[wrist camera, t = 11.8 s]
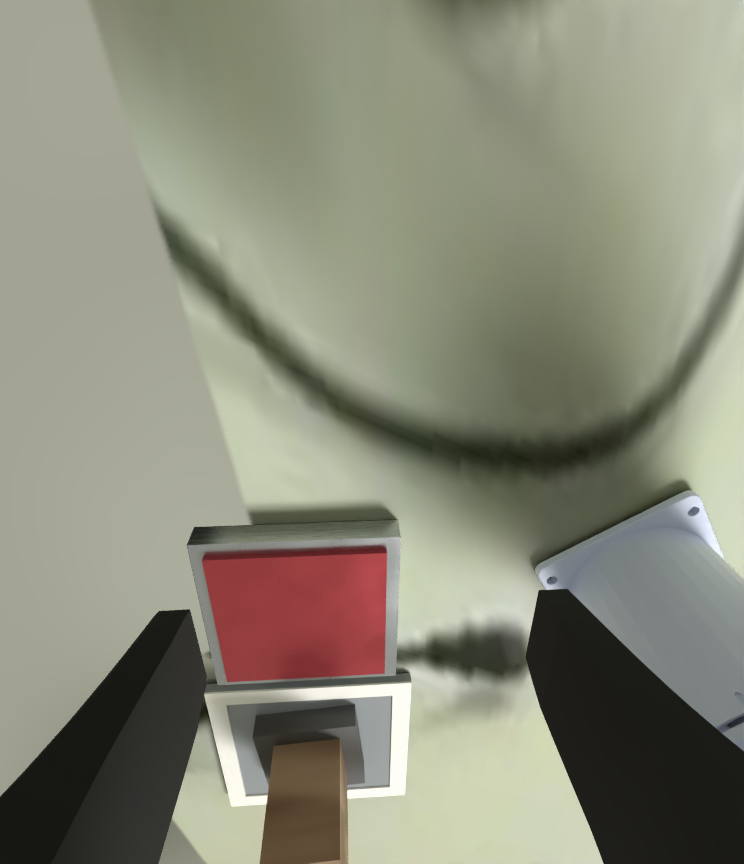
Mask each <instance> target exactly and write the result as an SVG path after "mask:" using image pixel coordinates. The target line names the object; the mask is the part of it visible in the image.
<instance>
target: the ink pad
mask: <svg viewBox="0 0 744 864" xmlns="http://www.w3.org/2000/svg"><path fill="white" fill-rule="evenodd" d="M400 541H401V536H400V530H399V525H398V520H376V521H349V522H322V523H295V524H268V525H242V526H217V527H216V526H214V527H194V529H193V532H192V534H191V536H190V539H189V541H188V544H187V549H188V553H189V558H190V562H191V566H192V571H193V575H194V580H195V585H196V589H197V594H198V598H199V603H200V607H201V612H202V616H203V621H204V625H205V630H206V634H207V639H208V643H209V648H210V653H211V657H212V662H213V666H214V671H215V675H216V680H217V684H218V685H233V684H251V683H270V682H288V681H307V680H325V679H343V678H362V677H380V676H396V655H397V626H398V598H399V569H400Z"/></svg>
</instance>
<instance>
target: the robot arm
mask: <svg viewBox="0 0 744 864" xmlns="http://www.w3.org/2000/svg"><path fill="white" fill-rule="evenodd" d="M692 507H693V508H692ZM691 508H692V509H691ZM689 509H691V510H689ZM535 572H536V575H537V577H538V579H539V580H540V582H541V583H542V585H543V586H544V588H545V589H546V590H539V592H538V597H537V602H536V607H535V612H534V617H533V622H532V627H531V632H530V637H529V642H528V647H527V652H526V660H527V663H528V667H529V671H530V674H531V678H532V681H533V685H534V688H535V691H536V695H537V698H538V701H539V704H540V708H541V710H542V713H543V715H544V718H545V720H546V723H547V725H548V727H549V730H550V732H551V735H552V737H553V740H554V742H555V745H556V747H557V749H558V752H559V754H560V757H561V759H562V761H563V764H564V766H565V769H566V771H567V773H568V776H569V778H570V781H571V783H572V785H573V788H574V790H575V793H576V795H577V797H578V800H579V802H580V805H581V807H582V809H583V812H584V814H585V817H586V819H587V821H588V824H589V826H590V829H591V831H592V834H593V836H594V839H595V842H596V844H597V847H598V849H599V852H600V855H601V857H602V860H603V863H604V864H744V579H743V578H742V577H741V576H740V575H739V574H738V573H737V572H736V571H735V570H734V569H733V568H732V567H731V566H730V565H729V564H728V563H727V562H726V561H725V559H724V556H723V554H722V551H721V549H720V546H719V543H718V541H717V538H716V536H715V533H714V531H713V528H712V526H711V523H710V520H709V518H708V515H707V513H706V510H705V508H704V505H703V503H702V500H701V498H700V497H699V495H697V494H696V493H695V492H694V491H684V492H682V493H680V494H678V495H676V496H674V497H672V498H670V499H668V500H666V501H664V502H662V503H660V504H658V505H656V506H654V507H652V508H650V509H648V510H646V511H644V512H642V513H640V514H638V515H636V516H634V517H632V518H630V519H628V520H626V521H623V522H621V523H619V524H617V525H615V526H613V527H611V528H609V529H607V530H605V531H603V532H601V533H599V534H597V535H595V536H593V537H591V538H589V539H587V540H585V541H583V542H581V543H579V544H577V545H575V546H573V547H571V548H569V549H567V550H565V551H563V552H561V553H559V554H557V555H555V556H553V557H551V558H549V559H547V560H545V561H543V562H541V563H540V564H538V565H537V567H536V569H535ZM552 576H553V577H552ZM549 577H552V578H549ZM548 578H549V579H548ZM206 678H207V676H206V672H205V668H204V664H203V660H202V656H201V652H200V648H199V644H198V640H197V636H196V632H195V628H194V624H193V620H192V616H191V612H190V610H173V611H159V612H158V613H157V614H156V615H155V616H154V617H153V618H152V620H151V621H150V622H149V624H148V625H147V626H146V627H145V629H144V630H143V631H142V633H141V634H140V635H139V637H138V638H137V639H136V640H135V641H134V643H133V644H132V645H131V647H130V648H129V649H128V650H127V652H126V653H125V654H124V656H123V657H122V658H121V659H120V660H119V662H118V663H117V664H116V665H115V667H114V668H113V669H112V671H111V672H110V673H109V674H108V675H107V677H106V678H105V679H104V680H103V681H102V683H101V684H100V685H99V686H98V687H97V689H96V690H95V691H94V692H93V693H92V695H91V696H90V697H89V698H88V699H87V701H86V702H85V703H84V704H83V705H82V707H81V708H80V709H79V710H78V711H77V713H76V714H75V715H74V716H73V717H72V718H71V720H70V721H69V722H68V723H67V724H66V725H65V726H64V728H63V729H62V730H61V731H60V732H59V733H58V734H57V735H56V736H55V738H54V739H53V740H52V741H51V742H50V743H49V744H48V745H47V747H46V748H45V749H44V750H43V751H42V752H41V753H40V754H39V756H38V757H37V758H36V759H35V760H34V761H33V762H32V763H31V764H30V765H29V767H28V768H27V769H26V770H25V771H24V772H23V773H22V774H21V775H20V776H19V777H18V778H17V779H16V781H15V782H14V783H13V784H12V785H11V786H10V787H9V788H8V789H7V790H6V791H5V792H4V793H3V794H2V795H1V796H0V864H158V863H159V859H160V856H161V852H162V849H163V846H164V842H165V839H166V836H167V832H168V829H169V825H170V822H171V819H172V815H173V812H174V808H175V805H176V802H177V798H178V795H179V791H180V788H181V785H182V781H183V778H184V774H185V771H186V767H187V764H188V760H189V757H190V754H191V750H192V747H193V743H194V739H195V736H196V732H197V728H198V723H199V717H200V712H201V707H202V701H203V695H204V689H205V683H206Z"/></svg>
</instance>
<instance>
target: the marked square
mask: <svg viewBox="0 0 744 864" xmlns="http://www.w3.org/2000/svg"><path fill="white" fill-rule="evenodd" d="M204 696H205V701H206V705H207V709H208V713H209V717H210V721H211V725H212V729H213V733H214V737H215V741H216V746H217V750H218V754H219V758H220V762H221V766H222V770H223V774H224V778H225V782H226V787H227V791H228V795H229V799H230V803H231V807H233V806H247V805H262V804H267V797H268V789H269V786H268V783H267V780H266V777H265V774H264V771H263V768H262V765H261V762H260V759H259V756H258V753H257V750H256V747H255V744H254V741H253V738H252V737H253V730H254V724H255V717H256V715H264V714H273V713H282V712H291V711H300V710H309V709H318V708H327V707H336V706H345V705H354V704H355V708H356V714H357V720H358V726H359V733H360V739H361V745H362V752H363V758H364V772H365V783H361V784H352V785H347V799H351V798H365V797H380V796H395V795H405V785H406V768H407V751H408V733H409V716H410V699H411V676H410V673H398V674H396V676H380V677H362V678H343V679H325V680H307V681H288V682H270V683H251V684H233V685H218V684H217V683H214V684H207V685H206V689H205V692H204Z"/></svg>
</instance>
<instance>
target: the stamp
mask: <svg viewBox="0 0 744 864" xmlns="http://www.w3.org/2000/svg"><path fill="white" fill-rule="evenodd" d="M252 738H253V741H254V744H255V747H256V750H257V753H258V756H259V759H260V762H261V765H262V768H263V771H264V774H265V777H266V780H267V783H268V786H269V789H268V797H267V806H266V814H265V823H264V832H263V840H262V849H261V858H260V864H348V810H347V785H352V784H361V783H365V772H364V758H363V752H362V745H361V739H360V733H359V726H358V720H357V714H356V708H355V704H354V705H345V706H336V707H327V708H318V709H309V710H300V711H291V712H282V713H273V714H264V715H256V717H255V724H254V730H253V737H252Z"/></svg>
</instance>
